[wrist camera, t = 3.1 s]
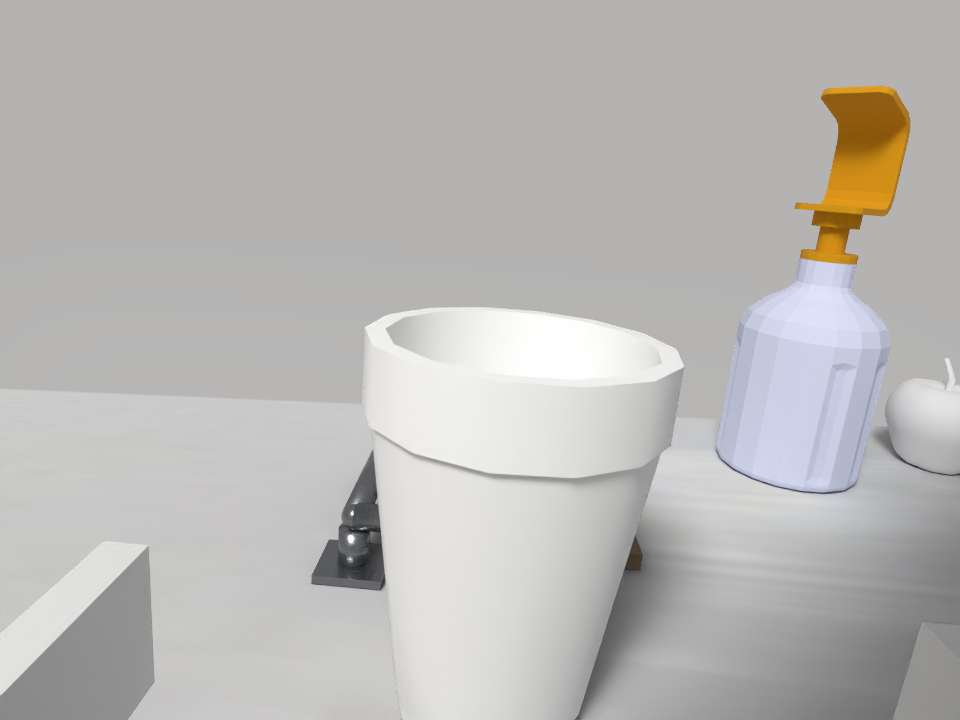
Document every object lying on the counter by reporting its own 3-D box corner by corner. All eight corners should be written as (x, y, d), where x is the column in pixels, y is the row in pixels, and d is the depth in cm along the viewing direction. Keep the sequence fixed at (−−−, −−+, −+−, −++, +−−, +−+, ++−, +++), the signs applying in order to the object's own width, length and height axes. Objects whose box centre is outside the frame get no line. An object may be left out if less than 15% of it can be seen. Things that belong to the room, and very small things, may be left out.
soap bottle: (690, 456, 47) (757, 82, 40) (754, 433, 53) (822, 103, 46) (819, 508, 40) (923, 73, 34) (876, 475, 46) (974, 99, 40)
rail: (579, 487, 40) (585, 438, 39) (610, 611, 29) (620, 545, 28) (366, 468, 40) (368, 419, 40) (311, 583, 29) (312, 517, 28)
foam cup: (400, 593, 29) (418, 297, 25) (617, 634, 27) (666, 326, 24) (305, 779, 20) (312, 356, 16) (621, 855, 18) (701, 408, 15)
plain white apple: (903, 440, 54) (928, 345, 52) (1004, 475, 48) (1037, 370, 46) (855, 452, 50) (880, 350, 48) (959, 492, 44) (992, 378, 42)
